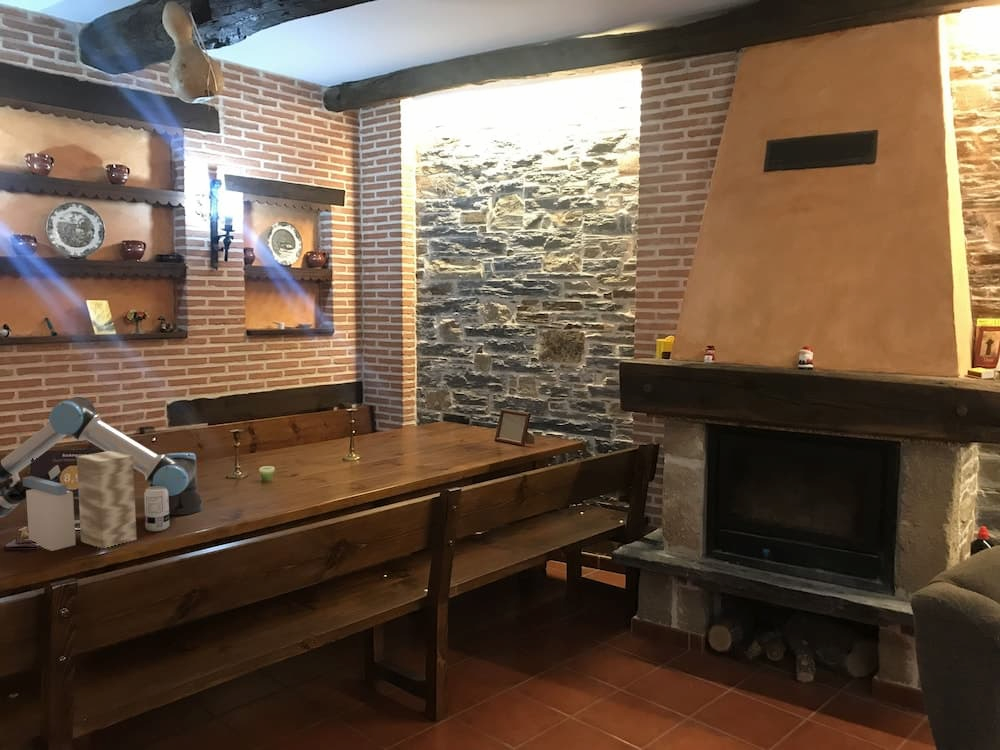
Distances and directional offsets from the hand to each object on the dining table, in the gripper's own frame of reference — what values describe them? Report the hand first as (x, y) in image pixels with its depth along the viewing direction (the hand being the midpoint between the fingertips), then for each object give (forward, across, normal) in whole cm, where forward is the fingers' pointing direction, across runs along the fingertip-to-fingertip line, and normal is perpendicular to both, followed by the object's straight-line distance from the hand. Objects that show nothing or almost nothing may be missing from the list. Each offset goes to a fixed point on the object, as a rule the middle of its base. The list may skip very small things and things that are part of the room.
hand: (38, 472), depth 279 cm
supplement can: (+5, -31, -31) cm, 44 cm away
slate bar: (0, 0, -7) cm, 7 cm away
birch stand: (+4, -13, -30) cm, 33 cm away
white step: (-6, 0, -24) cm, 25 cm away
